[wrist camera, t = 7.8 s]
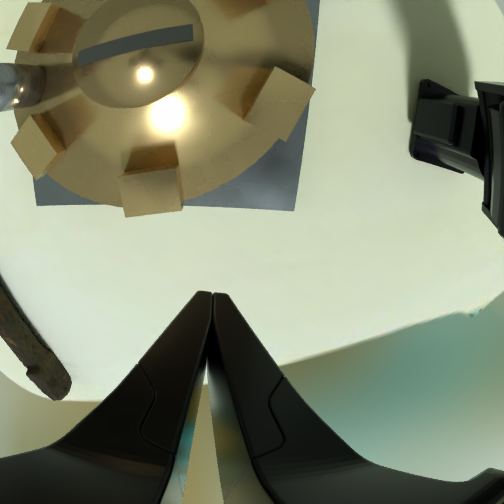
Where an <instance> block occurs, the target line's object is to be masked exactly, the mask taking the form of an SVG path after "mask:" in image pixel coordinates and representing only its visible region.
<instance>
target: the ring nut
mask: <svg viewBox="0 0 504 504" xmlns="http://www.w3.org/2000/svg"><path fill="white" fill-rule="evenodd" d="M6 49H11V50H18V52H17V55H16V59H15V64H14V63H0V112H3V111H9V110H14V114H15V118H16V121H17V125H18V129H19V131H18V132H17V134H16V135H15V137H14V138H13V140H12V141H11V144H12V146H13V147H14V149H15V150H16V152H17V154H18V155H19V157H20V158H21V160H22V161H23V162H24V164H25V165H26V167H27V168H28V170H29V171H30V173H31V174H32V175H33V177H34V178H35V180H37V179H39V178H41V177H43V176H45V175H46V174H48V175H49V176H50V177H51V178H52V179H54V180H55V181H56V182H57V183H59V184H60V185H62V186H63V187H65V188H66V189H68V190H69V191H71V192H73V193H75V194H77V195H79V196H81V197H83V198H86V199H89V200H92V201H95V202H98V203H101V204H106V205H112V206H117V207H123V209H124V213H125V218H126V217H133V216H141V215H149V214H157V213H166V212H174V211H182V208H183V206H184V201H185V200H188V199H192V198H195V197H198V196H200V195H202V194H205V193H207V192H209V191H211V190H214V189H216V188H218V187H220V186H221V185H223V184H225V183H227V182H228V181H230V180H232V179H234V178H235V177H237V176H238V175H239V174H241V173H242V172H243V171H245V170H246V169H247V168H249V167H250V166H252V165H253V164H254V163H255V162H256V161H257V160H258V159H259V158H260V157H262V156H263V155H264V154H265V153H266V152H267V151H268V150H269V149H270V148H271V147H272V146H273V144H274V143H275V142H276V141H277V140H278V138H280V139H281V140H283V141H285V142H286V141H287V139H288V137H289V136H290V134H291V132H292V130H293V128H294V127H295V125H296V123H297V121H298V120H299V118H300V116H301V114H302V112H303V111H304V109H305V107H306V105H307V104H308V102H309V100H310V98H311V97H312V95H313V93H314V91H315V90H316V89H315V88H313V87H312V86H310V85H308V83H309V80H310V77H311V72H312V66H313V60H314V33H313V26H312V20H311V16H310V13H309V10H308V7H307V4H306V1H305V0H43V1H42V2H41V3H28V4H27V6H26V7H25V9H24V11H23V13H22V15H21V17H20V19H19V21H18V23H17V25H16V28H15V30H14V32H13V34H12V36H11V39H10V41H9V43H8V46H7V48H6Z"/></svg>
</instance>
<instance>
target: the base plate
mask: <svg viewBox="0 0 504 504" xmlns="http://www.w3.org/2000/svg"><path fill="white" fill-rule="evenodd" d="M305 1H306V4H307V7H308V10H309V13H310V16H311V20H312V26H313V33H314V58H315V48H316V38H317V27H318V15H319V3H320V0H305ZM313 67H314V60H313V66H312V72H311V77H310V80H309V83H308V85H310V86H311V85H312V76H313ZM309 102H310V100H309ZM309 102H308V104H307V105H306V107H305V109H304V111H303V112H302V114H301V116H300V118H299V120H298V121H297V123H296V125H295V127H294V128H293V130H292V132H291V134H290V136H289V137H288V139H287V141H286V142H285V141H283V140H281V139H280V138H278V140H277V141H276V142H275V143H274V144H273V146H272V147H271V148H270V149H269V150H268V151H267V152H266V153H265V154H264V155H263V156H262V157H260V158H259V159H258V160H257V161H256V162H255V163H254V164H253V165H252V166H250V167H249V168H247V169H246V170H245V171H243V172H242V173H241V174H239V175H238V176H237V177H235V178H234V179H232V180H230V181H228V182H227V183H225V184H223V185H221V186H220V187H218V188H216V189H214V190H211V191H209V192H207V193H205V194H202V195H200V196H198V197H195V198H192V199H188V200H185V201H184V206H210V207H232V208H251V209H267V210H282V211H294V208H295V202H296V195H297V189H298V182H299V176H300V169H301V162H302V155H303V148H304V141H305V133H306V126H307V118H308V110H309ZM33 182H34V190H35V198H36V204H37V206H47V205H99V204H101V203H98V202H95V201H92V200H89V199H86V198H83V197H81V196H79V195H77V194H75V193H73V192H71V191H69V190H68V189H66V188H65V187H63V186H62V185H60V184H59V183H57V182H56V181H55V180H54V179H52V178H51V177H50V176H49V175H48V174H46V175H45V176H43V177H41V178H39V179H37V180H35V178H34V177H33Z"/></svg>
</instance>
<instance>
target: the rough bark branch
mask: <svg viewBox="0 0 504 504" xmlns="http://www.w3.org/2000/svg"><path fill="white" fill-rule="evenodd" d="M0 336H1V337H2V338H3V340H4V341H5V342H6V343H7V345H8V346H9V347H10V348H11V350H12V351H13V352H14V353H15V355H16V356H17V357H18V358H19V360H20V361H21V362H22V363H23V365H24V366H25V367H27V369H28V370H27V372H26V375H27V376H28V377H29V379H30V380H31V381H33V382H34V383H35V385H37V387H38V388H39V389H40V390H41V391H42V392H43V393H44V394H46V395H47V396H48V397H49V398H51V399H52V400H54V401H55V400H62V399H63V398H64V397H65V396H66V395H67V394H68V393H69V391H70V388H71V384H72V381H71V378H70V376H69V375H68V373H67V372H66V370H65V368H64V367H63V366H62V364H61V363H60V362H59V360H58V359H57V357H56V356H55V354H54V353H53V352H52V351H51V350H49V349H46V348H44V347H43V346H42V345H41V344H40V342H39V341H38V340H37V339H36V337H35V336H34V334H33V333H32V332H31V331H30V329H29V327H28V325H27V324H25V323H24V321H23V320H22V319H21V317H20V315H19V314H18V313H17V311H16V310H15V308H14V307H13V305H12V303H11V302H10V300H9V299H8V297H7V296H6V294H5V292H4V291H3V289H2V287H1V286H0Z"/></svg>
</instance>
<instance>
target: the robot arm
mask: <svg viewBox="0 0 504 504" xmlns="http://www.w3.org/2000/svg"><path fill="white" fill-rule="evenodd" d="M426 83H427V87H426ZM474 83H475V89H476V90H477V92H478V98H474V97H466V96H460V95H458V94H456V93H454V92H452V91H451V90H449V89H447V88H445V87H443V86H441V85H439V84H437V83H435V82H433V81H431V80H429V79H422V80H421V82H420V89H419V98H418V105H417V112H416V119H415V126H414V133H413V139H412V144H411V150H410V155H411V157H412V158H414V159H416V160H419V161H423V162H426V163H430V164H433V165H436V166H439V167H443V168H446V169H449V170H452V171H455V172H458V173H461V174H463V173H464V172H466V173H468V174H470V175H473V176H475V177H477V178H479V179H481V180H483V181H484V199H483V202H482V211H483V212H484V214H485V215H486V216H487V217H488V218H489V219H490V221H491V222H492V223H493V224H494V225H495V227H496V228H497V229H498V233H499V234H500V236H501V237H502V238H504V83H503V82H482V81H474ZM416 151H418V153H417V155H416ZM206 363H207V376H208V386H209V397H210V406H211V415H212V424H213V432H214V440H215V448H216V455H217V462H218V469H219V476H220V483H221V488H222V495H223V500H224V504H504V471H502V470H497V469H494V468H488V469H486V470H484V471H483V472H481V473H480V474H478V475H476V476H475V477H473V478H471V479H470V480H468V481H464V482H450V481H442V480H437V479H432V478H426V477H422V476H418V475H414V474H410V473H406V472H402V471H398V470H394V469H391V468H387V467H384V466H380V465H377V464H375V463H373V462H371V461H369V460H367V459H365V458H363V457H362V456H361V455H359V454H358V453H357V452H355V451H354V450H353V449H352V448H351V447H350V446H349V445H348V444H347V443H346V442H344V440H343V439H341V438H340V437H339V436H338V435H337V434H336V433H335V432H334V431H333V430H332V429H331V428H330V427H329V426H328V425H327V424H326V423H325V422H324V421H323V420H322V419H321V418H320V417H319V416H318V415H317V414H316V413H315V412H314V410H313V409H312V408H311V407H310V406H309V405H308V404H307V403H306V402H305V401H304V399H303V398H302V397H301V396H300V394H299V393H298V392H297V391H296V389H295V388H294V387H293V385H292V384H291V383H290V382H289V380H288V379H287V378H286V377H284V374H283V372H282V371H281V369H280V368H279V367H278V365H277V364H276V362H275V361H274V360H273V358H272V357H271V356H270V354H269V353H268V351H267V350H266V349H265V347H264V346H263V344H262V343H261V341H260V340H259V339H258V337H257V336H256V334H255V333H254V332H253V330H252V329H251V327H250V326H249V324H248V323H247V321H246V320H245V319H244V317H243V316H242V314H241V313H240V311H239V310H238V308H237V307H236V305H235V304H234V303H233V301H232V300H231V298H230V297H229V295H228V294H226V293H217V292H215V293H213V295H212V293H211V292H208V291H197V292H196V293H195V295H194V296H193V297H192V298H191V299H190V301H189V302H188V303H187V304H186V305H185V306H184V308H183V309H182V310H181V311H180V312H179V314H178V315H177V316H176V317H175V318H174V320H173V321H172V322H171V323H170V324H169V326H168V327H167V328H166V329H165V330H164V332H163V333H162V334H161V335H160V336H159V338H158V339H157V340H156V341H155V342H154V344H153V345H152V346H151V347H150V348H149V350H148V351H147V352H146V353H145V354H144V356H143V357H142V358H141V359H140V360H139V362H138V364H136V365H135V366H134V368H133V369H132V370H131V371H130V372H129V374H128V375H127V376H126V377H125V378H124V379H123V380H122V382H121V383H120V384H119V385H118V386H117V387H116V388H115V389H114V390H113V391H112V392H111V393H110V394H109V395H108V396H107V397H106V398H105V399H104V400H103V401H102V402H101V403H100V404H99V405H98V406H97V407H96V408H94V409H93V410H92V411H91V412H90V413H89V414H88V415H87V416H86V417H85V418H84V419H82V420H81V421H80V422H79V423H78V424H77V425H76V426H75V427H74V428H73V429H72V430H70V432H68V433H67V434H66V435H65V436H63V437H62V438H61V439H59V440H58V441H56V442H54V443H52V444H50V445H48V446H46V447H43V448H40V449H36V450H32V451H29V452H24V453H20V454H17V455H12V456H8V457H3V458H0V504H182V498H183V493H184V487H185V481H186V475H187V468H188V462H189V458H190V452H191V446H192V440H193V435H194V429H195V423H196V418H197V413H198V407H199V402H200V397H201V392H202V386H203V381H204V376H205V370H206Z"/></svg>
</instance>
